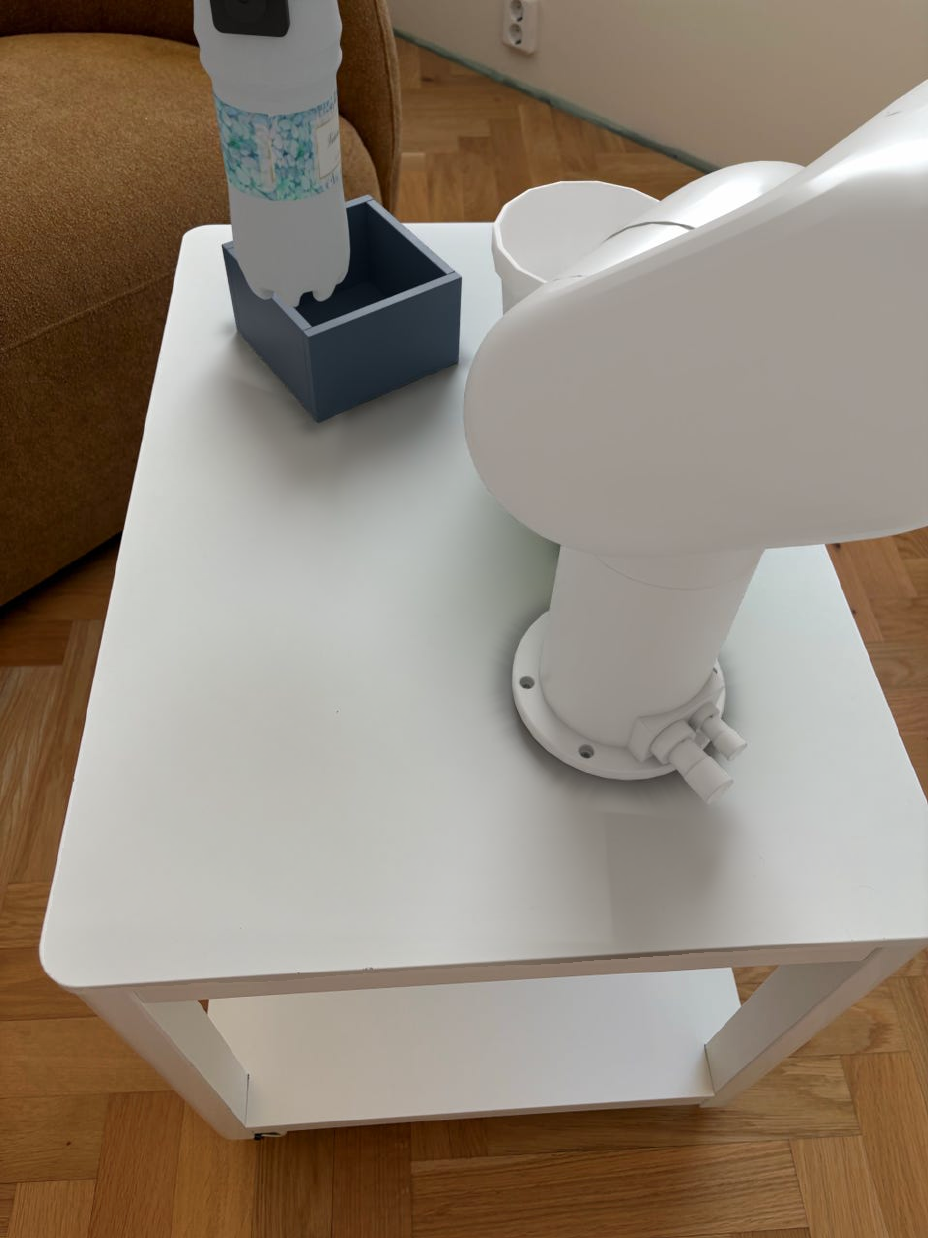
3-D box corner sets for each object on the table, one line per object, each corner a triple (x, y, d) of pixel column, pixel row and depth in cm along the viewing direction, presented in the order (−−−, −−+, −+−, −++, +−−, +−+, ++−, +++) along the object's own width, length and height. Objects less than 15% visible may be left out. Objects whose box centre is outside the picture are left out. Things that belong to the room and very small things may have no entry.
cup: (508, 495, 69) (527, 309, 56) (460, 379, 76) (468, 190, 63) (674, 465, 71) (727, 280, 59) (613, 355, 78) (649, 169, 66)
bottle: (351, 321, 55) (327, -107, 38) (228, 317, 54) (152, -116, 38) (358, 248, 59) (338, -167, 42) (244, 245, 58) (180, -175, 42)
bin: (459, 362, 77) (462, 276, 71) (317, 422, 72) (308, 337, 66) (372, 279, 83) (368, 193, 77) (236, 330, 78) (220, 244, 72)
